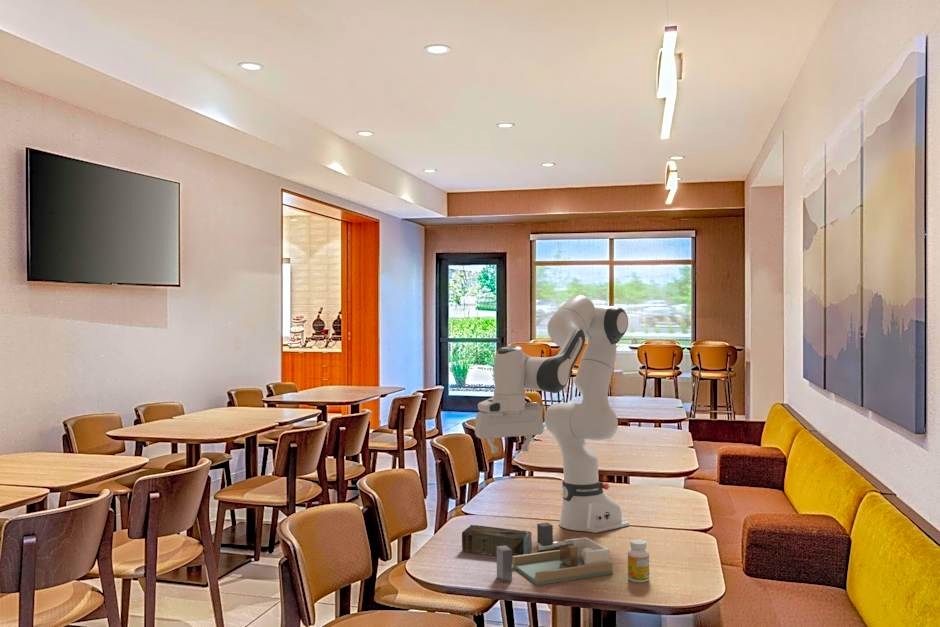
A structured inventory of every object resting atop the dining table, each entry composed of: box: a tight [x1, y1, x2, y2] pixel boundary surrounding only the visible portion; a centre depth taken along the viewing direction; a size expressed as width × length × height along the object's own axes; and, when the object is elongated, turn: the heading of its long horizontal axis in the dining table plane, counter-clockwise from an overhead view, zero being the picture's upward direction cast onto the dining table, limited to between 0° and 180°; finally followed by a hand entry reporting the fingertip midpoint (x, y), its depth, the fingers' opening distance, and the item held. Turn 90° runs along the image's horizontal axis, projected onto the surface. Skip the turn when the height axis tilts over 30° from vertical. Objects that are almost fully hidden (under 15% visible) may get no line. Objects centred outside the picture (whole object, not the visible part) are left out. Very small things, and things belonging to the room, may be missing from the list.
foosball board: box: [512, 536, 614, 586], centre depth 206 cm, size 22×15×6 cm
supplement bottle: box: [627, 538, 650, 583], centre depth 198 cm, size 5×5×10 cm
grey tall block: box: [496, 545, 513, 583], centre depth 199 cm, size 2×4×8 cm, turn 21°
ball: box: [581, 548, 593, 561], centre depth 208 cm, size 4×4×4 cm
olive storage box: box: [461, 524, 533, 558], centre depth 222 cm, size 8×19×7 cm, turn 69°
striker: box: [536, 522, 578, 567], centre depth 205 cm, size 10×6×11 cm, turn 111°
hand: (509, 452), depth 219 cm, fingers open, 8 cm apart
